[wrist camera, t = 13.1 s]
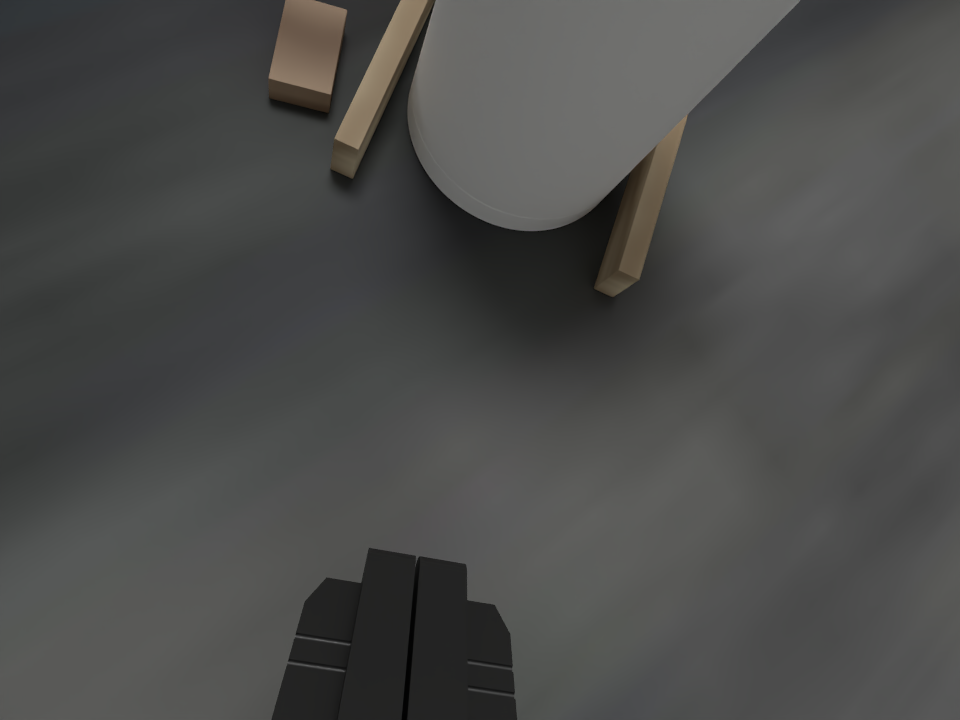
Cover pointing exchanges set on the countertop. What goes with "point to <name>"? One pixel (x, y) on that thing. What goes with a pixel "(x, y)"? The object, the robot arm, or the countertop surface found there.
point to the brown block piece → (307, 54)
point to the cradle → (638, 197)
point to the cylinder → (564, 94)
